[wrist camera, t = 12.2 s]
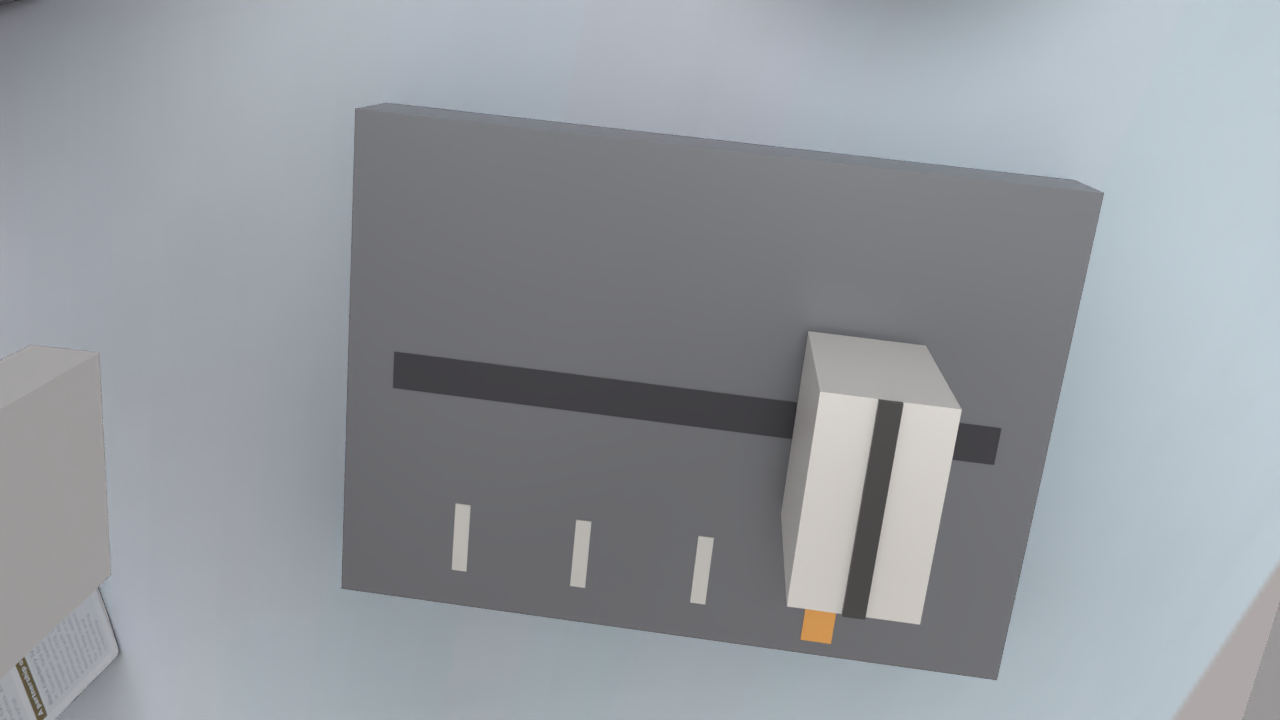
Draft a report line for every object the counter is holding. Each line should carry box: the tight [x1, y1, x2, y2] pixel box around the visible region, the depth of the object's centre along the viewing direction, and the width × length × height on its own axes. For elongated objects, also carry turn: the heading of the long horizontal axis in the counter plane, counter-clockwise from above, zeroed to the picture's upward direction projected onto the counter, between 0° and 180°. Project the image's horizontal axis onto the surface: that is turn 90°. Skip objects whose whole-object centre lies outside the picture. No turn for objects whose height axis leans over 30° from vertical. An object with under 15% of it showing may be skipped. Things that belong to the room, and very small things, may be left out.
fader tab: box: [781, 331, 962, 625], centre depth 32 cm, size 4×6×6 cm, turn 174°
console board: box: [342, 103, 1104, 680], centre depth 37 cm, size 22×16×3 cm
